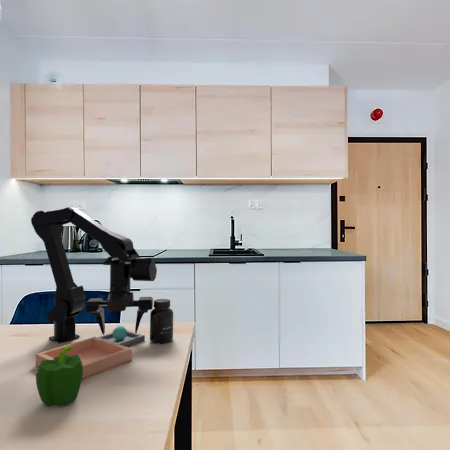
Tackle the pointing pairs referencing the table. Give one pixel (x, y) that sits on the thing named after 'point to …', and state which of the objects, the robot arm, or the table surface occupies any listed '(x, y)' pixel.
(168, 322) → the supplement bottle
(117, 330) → the ball
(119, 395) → the table surface
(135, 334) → the tray
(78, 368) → the bell pepper
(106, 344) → the dish
